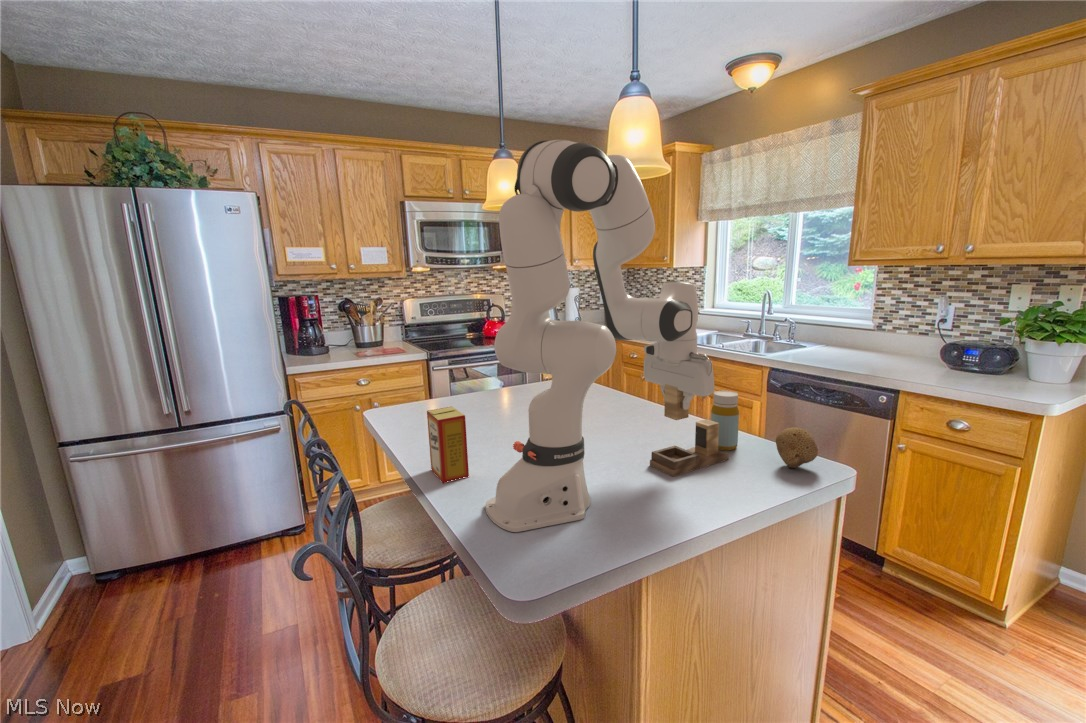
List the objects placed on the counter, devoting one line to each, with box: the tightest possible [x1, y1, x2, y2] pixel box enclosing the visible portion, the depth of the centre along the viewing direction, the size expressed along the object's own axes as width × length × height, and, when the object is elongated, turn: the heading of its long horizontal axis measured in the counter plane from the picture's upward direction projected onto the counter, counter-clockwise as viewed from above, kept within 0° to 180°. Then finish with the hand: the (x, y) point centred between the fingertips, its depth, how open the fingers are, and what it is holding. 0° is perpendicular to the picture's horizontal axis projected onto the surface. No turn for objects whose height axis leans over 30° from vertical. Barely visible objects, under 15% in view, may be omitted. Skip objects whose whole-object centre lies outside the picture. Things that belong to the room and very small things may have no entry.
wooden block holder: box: [649, 418, 729, 477], centre depth 122 cm, size 19×8×10 cm, turn 119°
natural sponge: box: [775, 426, 819, 468], centre depth 117 cm, size 9×9×10 cm
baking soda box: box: [426, 406, 470, 484], centre depth 119 cm, size 10×6×16 cm
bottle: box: [710, 390, 740, 452], centre depth 132 cm, size 7×7×15 cm
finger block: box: [664, 384, 690, 421], centre depth 118 cm, size 4×4×8 cm
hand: (676, 406), depth 118 cm, fingers closed on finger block, 4 cm apart
